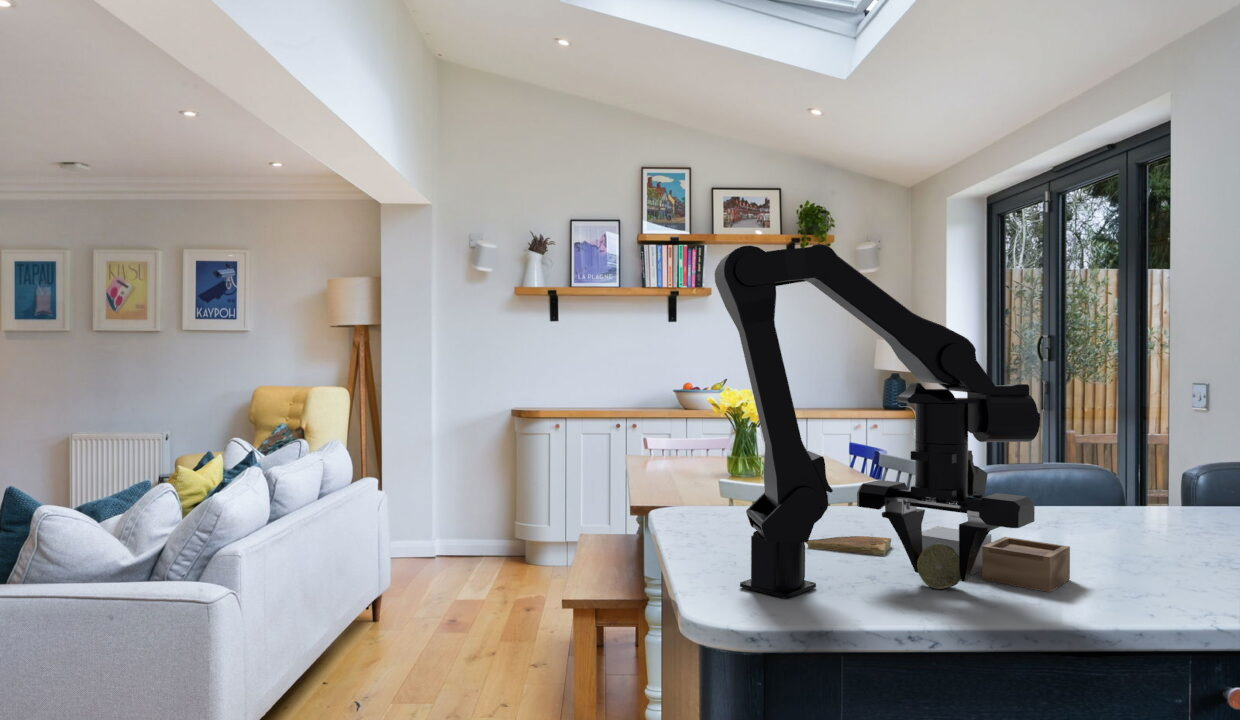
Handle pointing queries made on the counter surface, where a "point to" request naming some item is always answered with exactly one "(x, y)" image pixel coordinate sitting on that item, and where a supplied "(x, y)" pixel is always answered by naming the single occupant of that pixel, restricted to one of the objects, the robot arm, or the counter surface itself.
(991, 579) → the brown hollow rimmed box
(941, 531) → the grey stone block
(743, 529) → the counter surface
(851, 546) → the shard
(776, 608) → the counter surface
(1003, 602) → the counter surface
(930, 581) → the lime
